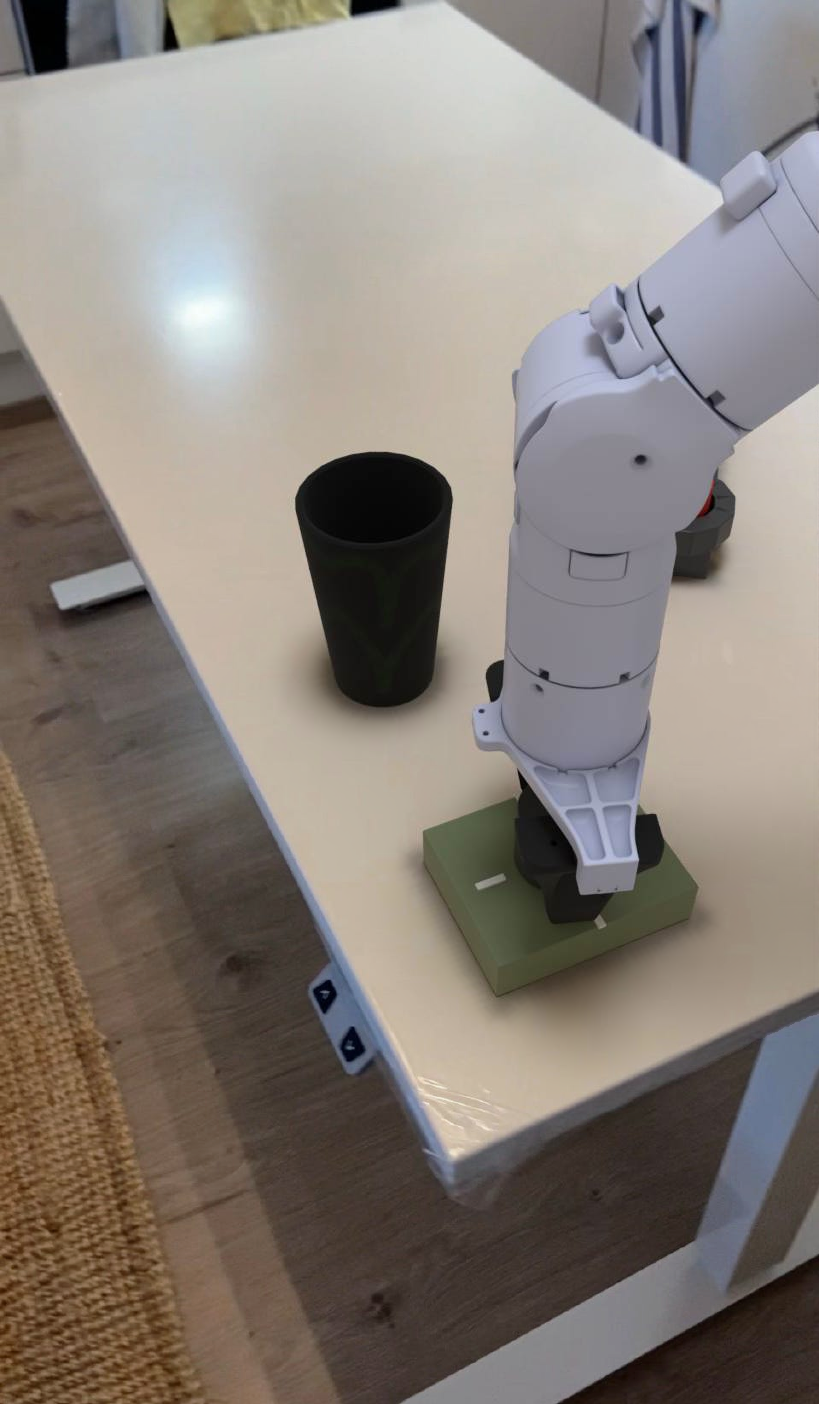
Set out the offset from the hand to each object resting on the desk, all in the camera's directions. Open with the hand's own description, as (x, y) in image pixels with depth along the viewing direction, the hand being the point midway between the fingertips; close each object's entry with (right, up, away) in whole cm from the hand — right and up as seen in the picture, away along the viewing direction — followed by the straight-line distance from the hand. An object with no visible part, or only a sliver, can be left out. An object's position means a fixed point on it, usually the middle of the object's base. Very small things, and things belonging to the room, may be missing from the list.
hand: (558, 851), depth 54 cm
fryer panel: (0, -2, +2) cm, 3 cm away
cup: (-8, +8, +13) cm, 17 cm away
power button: (+9, +18, +16) cm, 26 cm away
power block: (+8, +21, +24) cm, 33 cm away
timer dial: (0, 0, 0) cm, 0 cm away
